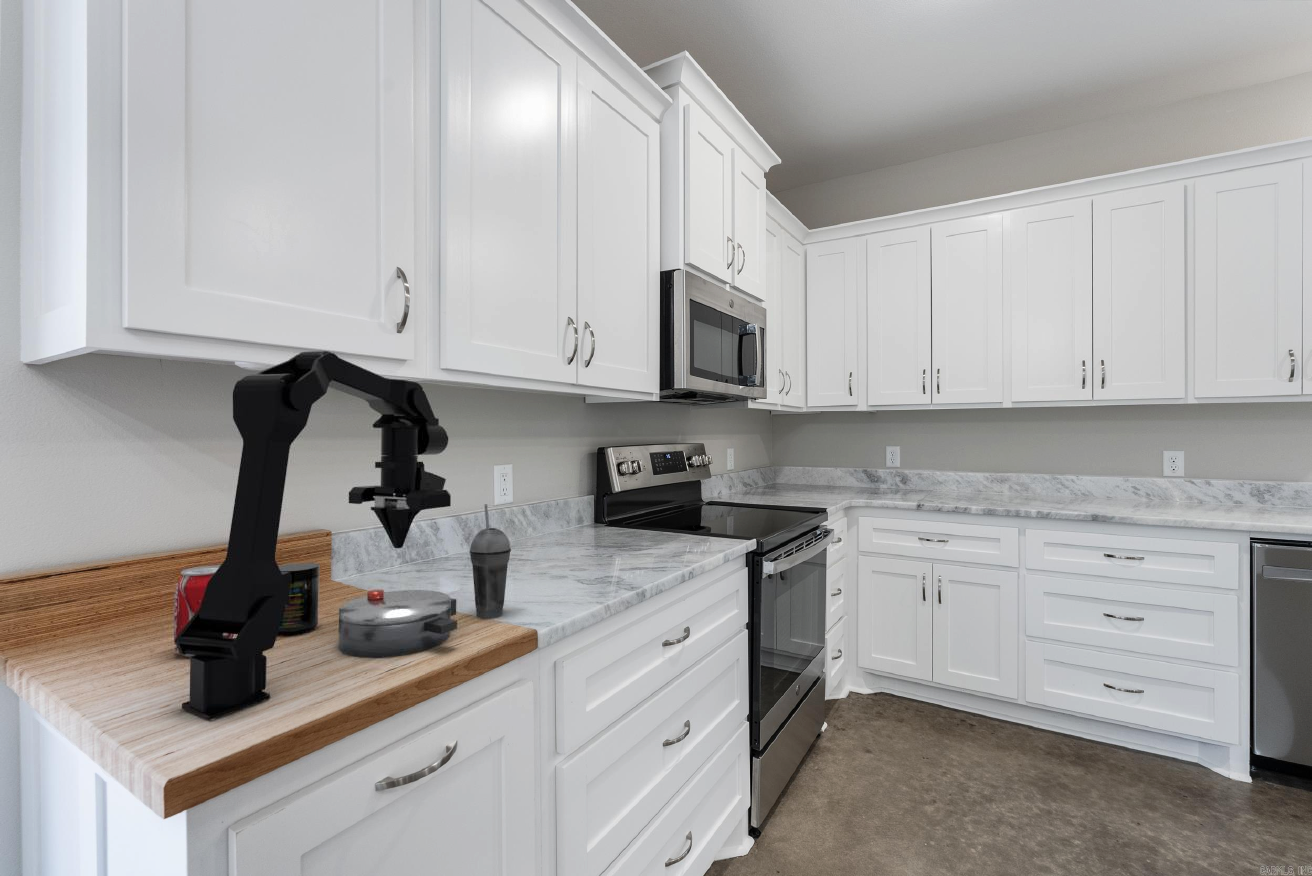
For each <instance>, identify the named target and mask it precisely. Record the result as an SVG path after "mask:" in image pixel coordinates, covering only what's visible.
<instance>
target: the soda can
mask: <svg viewBox="0 0 1312 876" xmlns="http://www.w3.org/2000/svg"><path fill="white" fill-rule="evenodd" d="M220 566H221V564H220V565H215V564H214V565H206V566H204V565H203V566H202V565H201V566H196V567H191V568H187V569H183V570H182V571H181V570H180V577H179V578H178V580H177V582H176V583H175V587H174V602H173V603H174V605H173V611H174V612H173V641H174V642H173V643H174V651H175V653H177V654H179V655H181V654H180V653H179V651H178V648H177V646H176V643H175V639H176V637H177V636H178V635H179V633H180V632H181V631H182V630H183V628H184V627H185V626H186V625H187V623H188V622H189V621H190V619H191V618H192V617H193V616H194V614H195V613H196V612H197V611H198V609H199V608H200V606H201V603H202V599H203V596H204V593H205V590H206V586H207V583H208V581H209V580H210V578H211V577H212V576H213V575H214V573H215V572H216V571H217V569H218V568H219V567H220ZM234 635H235V634H228V633H223V636H222V637H227V638H234ZM182 656H183V657H185V658H190V657H191V656H195V655H190V654H185V655H182Z"/></svg>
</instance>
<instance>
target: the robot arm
mask: <svg viewBox="0 0 1312 876" xmlns="http://www.w3.org/2000/svg"><path fill="white" fill-rule="evenodd" d="M328 388H331V389H334V390H337V391H340V392H342V393H345V394H348V395H350V396H353V397H356V398H359V399H360V400H361V399H362V400H364V401H366V403H367V404H368V406H369V407H370V408H371V409H372V410H374V411H375V412H376V413H379V414H380V415H381V416H380V417H379V418H378V419H377V420H375V422H373V424H372V428H373V429H381V433H380V436H381V437H380V439H381V440H380V441H381V442H380V461H375V462H374V469H380V485H364V486H354V487H352V488H351V490H350V491H348V504H355V505H362V504H363V503H368V502H374V506H371V507H370V511H373V513H375V515H376V517H377V519H378V520H379V522H380V524H381V525H382V528H383V529H384V531H385V533H386V534H387V537H388V539H389V541H390V542H391V544H392V546H393V548H394V549H402V548H403V547H404V544H405V541H406V538H407V536H408V534H409V530H410V528H411V526H412V523H413V521H414V519H415V518H416V516H417V515H418V514H419V513H420V512H421V511H424V510H432V509H440V508H448V507H451V503H452V502H451V499H452V495H451V493H450V492H449V490H447V489H444V488H445V484H446V481H447V479H446V478H444V477H442V476H440V475H438V474H435V473H433V472H430V471H426V470H425V464H424V461H418V459H419V457H418V456H424V455H425V456H427V455H428V456H430V455H439V454H441V453H443V452H444V451H445V450H446V448H447V447H448V444H449V435H448V433H447V431H446V429H445V428H444V427H443V426H441V425H440V423H439V418H438V417H436V416H435V414H434V411H433V409H432V406H431V404H430V402H429V399H428V397H427V394H426V392H425V390H423V386H422V385H421V384H420V383H419V382H417V381H412V380H406V379H397V378H396V379H395V378H389V377H388V378H386V377H384V376H382V375H380V374H377V373H375V372H372V371H371V370H368V369H366V368H363V367H361V366H359V365H357V364H354V363H352V362H350V361H347V360H346V359H344V358H342V357H339V356H338V355H337V354H335V353H334V352H331V351H328V350H317V351H316V350H315V351H314V350H313V351H310V350H309V351H302V352H300V353H298V354H296V355H294V356H293V357H291V358H290V359H289V360H286V361H283V362H281V363H278V364H276V365H273V366H270V367H268V368H266V369H263V370H261V371H259V372H258V373H256V374H250V375H245V376H243V377H242V378H241V379H239V380H237V381H236V382H235V384H234V387H233V390H232V419H233V422H234V424H235V426H236V429H237V430H238V433H239V435H240V437H241V439H242V449H241V450H242V451H241V457H240V463H239V471H238V476H237V477H238V478H237V485H236V491H235V496H234V505H233V510H232V511H233V512H232V518H231V523H230V530H229V539H228V543H227V549H226V550H227V551H226V555H225V559H224V561H223V562H222V563H221V564H220V565H221V566H220V567H219V568H218V569H217V571H216V572H215V573H214V575H213V576H212V577H211V578H210V580H209V581H208V583H207V586H206V590H205V593H204V596H203V599H202V603H201V606H200V608H199V609H198V611H197V612H196V613H195V614H194V616H193V617H192V618H191V619H190V621H189V622H188V623H187V625H186V626H185V627H184V628H183V630H182V631H181V632H180V633H179V635H178V636H177V637H176V639H175V643H176V646H177V648H178V651H179V653H180V654H179V653H178V654H179V655H182V656H183V655H185V654H190V655H195V656H191V657H189V659H190V660H189V700H187V701H186V702H185V701H184V702H183V703H181V709H182V710H183V709H184V710H185V711H188V712H190V713H192V714H195V715H197V716H199V717H203V718H204V719H207V720H214V719H218V718H220V717H222V716H226V715H228V714H232V713H233V712H237V711H239V710H241V709H245V708H247V707H250V706H254V705H255V704H260V703H261V702H264V701H267V700H268V699H271V693H269V692H266V691H265V690H266V688H267V662H268V661H267V659H268V658H267V656H266V655H265V654H264V652H266V651H269V650H271V649H273V648H274V647H275V644H276V641H277V637H278V636H277V634H278V630H279V627H280V623H281V620H282V618H283V616H284V612H285V606H290V601H289V591H290V586H291V582H292V575H291V573H290V572H281V571H280V569H279V567H278V566H279V565H278V563H277V561H276V551H277V545H278V536H279V530H280V522H281V516H282V509H283V508H282V507H283V500H284V493H285V486H286V479H287V473H288V472H287V471H288V464H289V455H290V450H291V446H292V444H293V442H295V440H296V439H297V438H298V436H299V435H300V434H301V433H302V431H303V430H304V429H305V428H306V426H307V425H308V420H309V417H310V414H311V410H312V406H313V404H314V403H316V402H317V401H319V400H320V399H321V398H323V397H324V396H325V395H326V394H327V391H328ZM223 633H228V634H234V635H236V636H235V637H233V638H227V637H222V636H223Z"/></svg>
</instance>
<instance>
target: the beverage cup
mask: <svg viewBox="0 0 1312 876" xmlns="http://www.w3.org/2000/svg"><path fill="white" fill-rule="evenodd" d="M488 509H489V507H488V503H485V504H484V515H485V516H484V517H485V527H486V528H483V529H480V530H479V532H478V533H476V534H475V535H474V537H473V539H472V542H471V544H470V549H469V552H468V553H470V555H469V556H470V562H471V565H472V577H473V578H472V579H473V592H474V604H475V611H476V617H477V618H479V619H483V620H484V619H485V620H487V619H489V620H490V619H496V618H499V617H501V616H503V615H504V614H503V611H504V605H505V596H506V595H505V594H506V585H507V577H508V576H507V575H508V564H509V562H510V561H509V560H510V555H511V552H512V549H511V543H510V542H511V541H510V540H509V537H508V536H507V534H506V533H505V532H504V531H503V530H501V529H499V528H497V527H496V528H494V527H490V522H489V510H488Z"/></svg>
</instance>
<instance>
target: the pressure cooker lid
mask: <svg viewBox="0 0 1312 876" xmlns="http://www.w3.org/2000/svg"><path fill="white" fill-rule="evenodd" d="M384 591H385V590H384V589H371V590H368V591H367V593H366V595H364V596H359V597H357V598H353V599H351V600H348V601H347V602H344V603H343V604H341V605H342V606H341V605H340V606H339V608H338V619H339V618H340V619H341V620H342V621H344V622H347V623H351V624H358V625H392V624H401V623H408V622H414V621H419V620H423V619H427V618H431V617H434V616H436V615H439V614H441V613H443V612H445V611H447V610H448V609H449V608H450V606H451V598H452V597H451V596H450V595H449V594H448V593H444V592H440V591H435V590H428V589H427V590H424V589H408V590H393V591H385V592H384Z"/></svg>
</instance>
